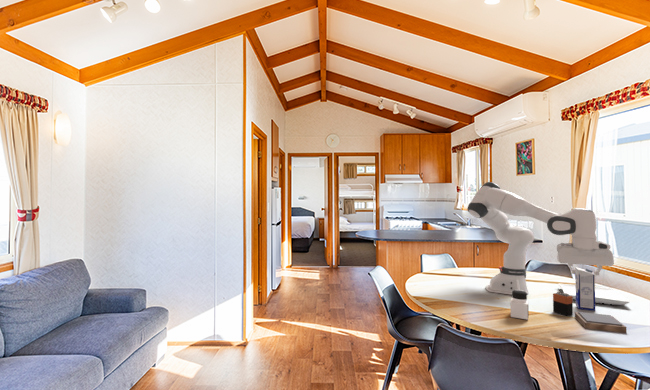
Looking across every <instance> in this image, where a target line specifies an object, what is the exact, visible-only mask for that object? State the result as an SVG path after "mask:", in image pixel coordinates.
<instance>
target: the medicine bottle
mask: <svg viewBox="0 0 650 390" xmlns="http://www.w3.org/2000/svg"><path fill="white" fill-rule="evenodd" d="M527 295H528V294H527V293H526V292H525V291H522V290H513V291H512V295H511V299H510V318H516V319H520V320H521V319H522V320H527V321H528V320H529V300H528V296H527Z"/></svg>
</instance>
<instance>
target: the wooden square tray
mask: <svg viewBox="0 0 650 390" xmlns="http://www.w3.org/2000/svg"><path fill="white" fill-rule="evenodd" d="M574 319H576V320H577V321H578V323H580V325H582V327H583V328H584V329H589V330H599V331H605V332H615V333H622V334H627V326H625V325H624V324H623V323H622V322H620V320H618V319H617V318H615V317H614V316H613V315H610V314H602V313H601V314H600V313H593V312H581V311H578V312H574Z"/></svg>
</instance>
